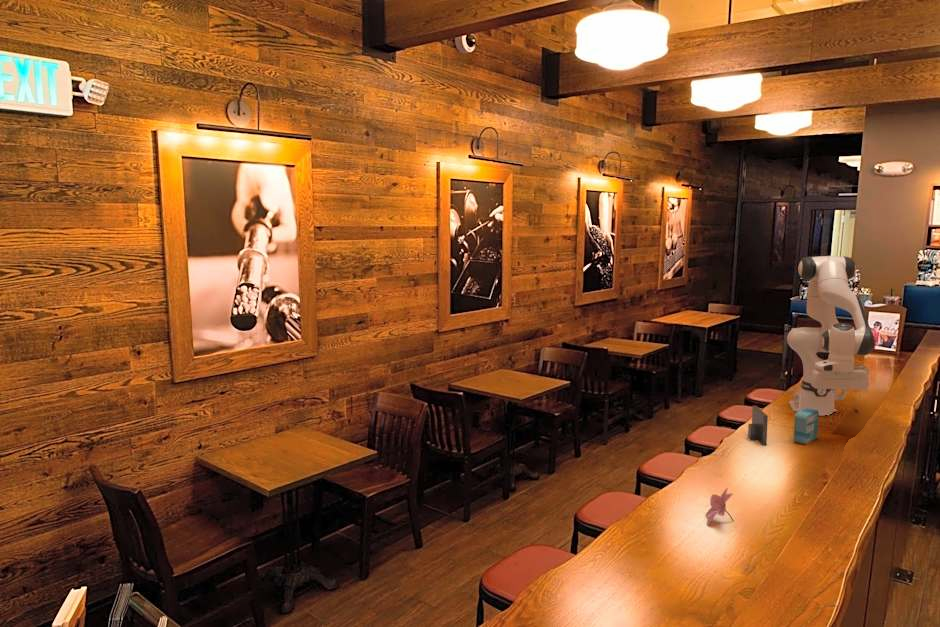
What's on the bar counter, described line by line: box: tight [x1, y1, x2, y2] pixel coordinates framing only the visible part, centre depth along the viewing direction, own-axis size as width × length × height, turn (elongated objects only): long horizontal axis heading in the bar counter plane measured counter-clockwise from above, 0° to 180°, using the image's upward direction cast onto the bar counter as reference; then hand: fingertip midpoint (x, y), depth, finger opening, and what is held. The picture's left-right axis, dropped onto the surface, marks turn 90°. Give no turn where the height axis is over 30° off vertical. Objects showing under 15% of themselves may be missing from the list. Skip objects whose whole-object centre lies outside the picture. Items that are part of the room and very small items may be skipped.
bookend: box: [747, 405, 769, 446], centre depth 252 cm, size 14×4×12 cm, turn 172°
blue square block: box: [793, 408, 819, 445], centre depth 249 cm, size 12×4×12 cm, turn 131°
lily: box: [704, 487, 734, 526], centre depth 185 cm, size 12×12×10 cm
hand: (838, 399), depth 246 cm, fingers closed
